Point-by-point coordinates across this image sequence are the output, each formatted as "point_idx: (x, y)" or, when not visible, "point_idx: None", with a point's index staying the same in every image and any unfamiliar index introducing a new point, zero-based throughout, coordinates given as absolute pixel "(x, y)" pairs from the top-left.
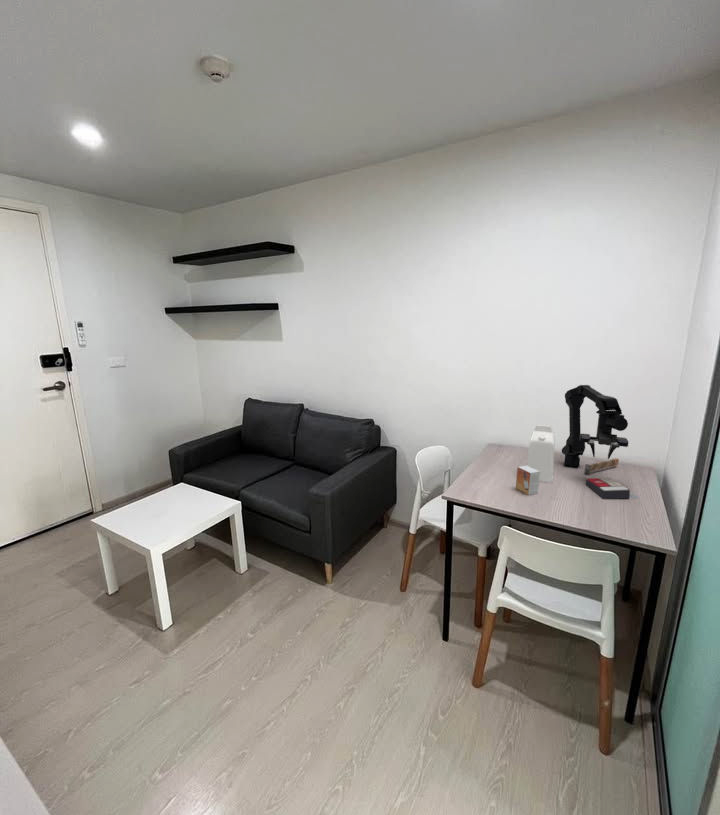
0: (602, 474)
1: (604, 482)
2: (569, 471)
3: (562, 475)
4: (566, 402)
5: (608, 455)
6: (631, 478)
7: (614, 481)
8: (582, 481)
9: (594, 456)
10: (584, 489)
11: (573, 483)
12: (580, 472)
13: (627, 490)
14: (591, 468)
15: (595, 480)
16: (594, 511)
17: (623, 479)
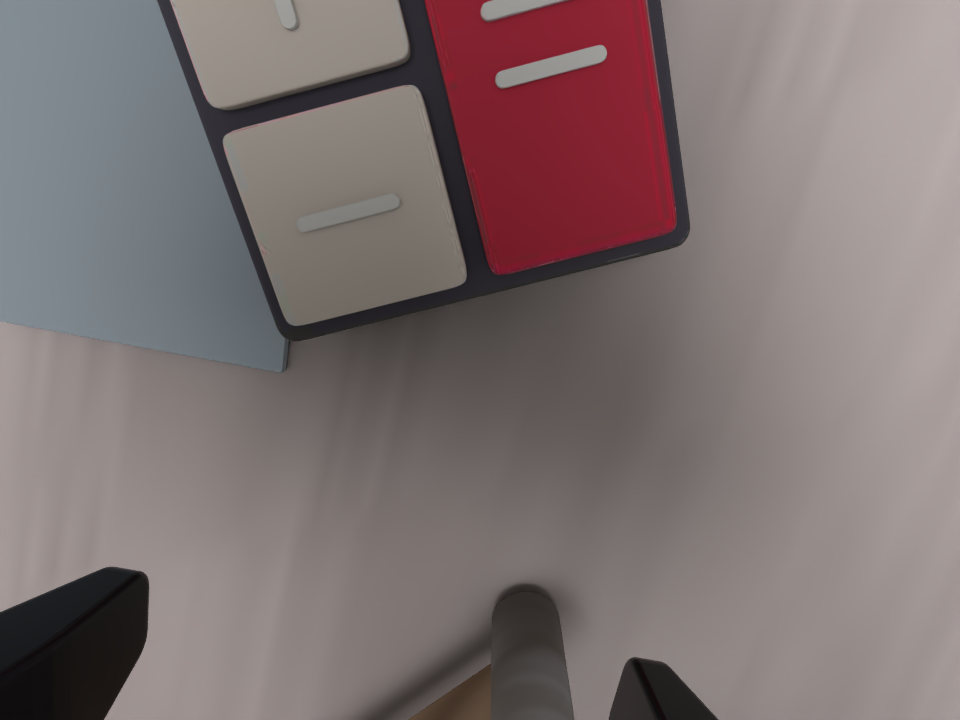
0: (320, 689)
1: (435, 29)
2: (707, 703)
3: (856, 549)
4: None
5: (21, 668)
6: None
7: (239, 127)
8: (648, 389)
9: (637, 676)
10: (724, 52)
11: (809, 275)
12: (575, 698)
13: None
14: (470, 710)
15: (571, 130)
16: None
17: None
